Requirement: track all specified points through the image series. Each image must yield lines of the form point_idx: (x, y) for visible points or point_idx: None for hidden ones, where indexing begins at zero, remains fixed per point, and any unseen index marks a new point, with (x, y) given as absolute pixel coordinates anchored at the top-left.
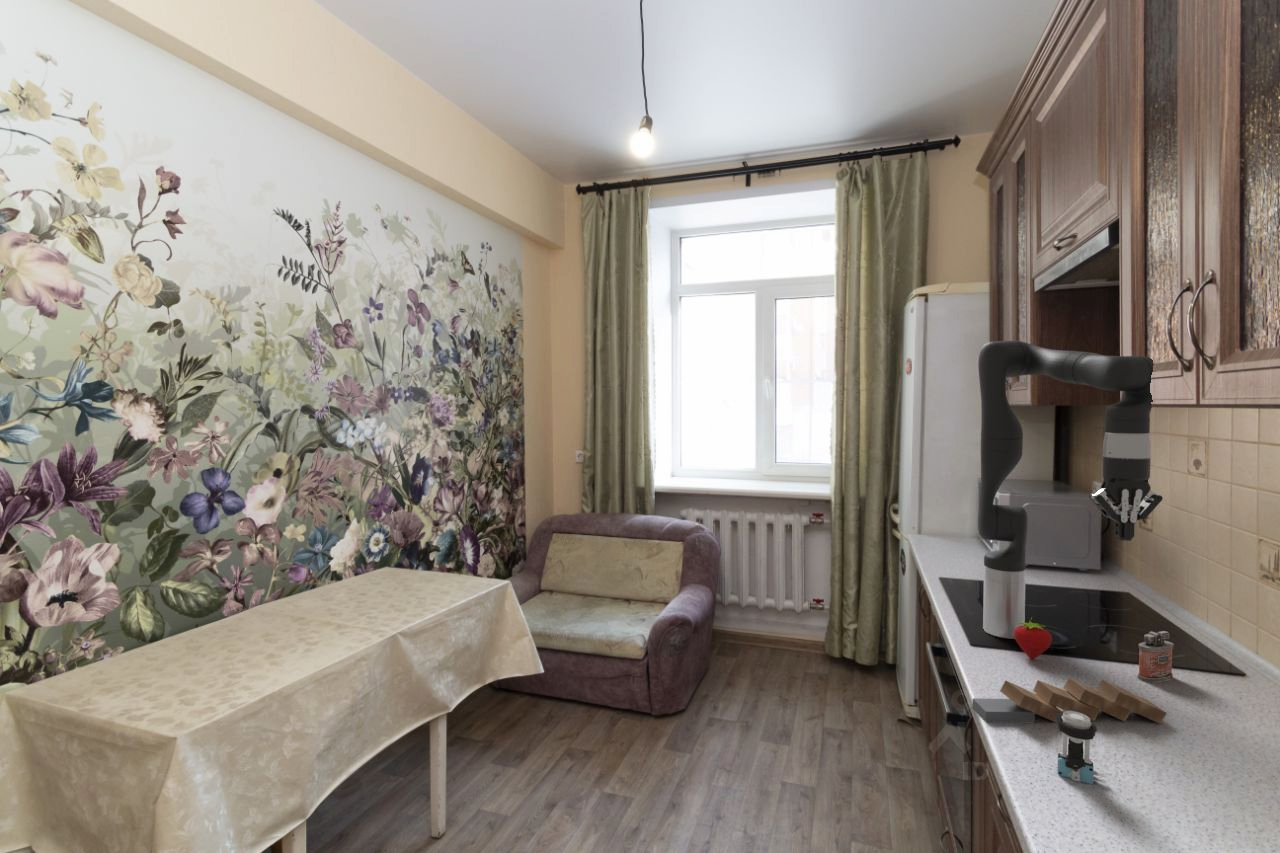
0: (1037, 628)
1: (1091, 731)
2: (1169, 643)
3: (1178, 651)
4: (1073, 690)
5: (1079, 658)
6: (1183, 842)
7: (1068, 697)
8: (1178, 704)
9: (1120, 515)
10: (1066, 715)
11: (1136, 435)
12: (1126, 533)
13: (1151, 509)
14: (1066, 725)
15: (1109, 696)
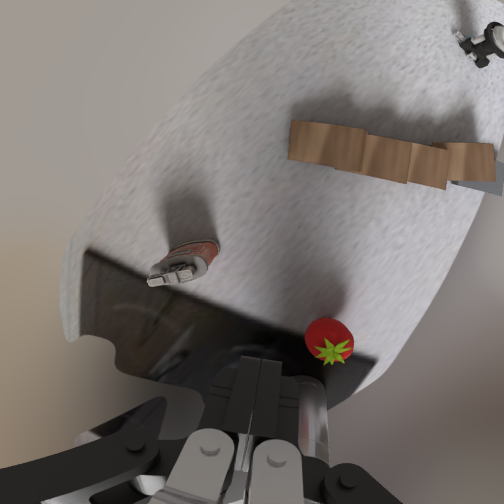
0: (328, 344)
1: (496, 22)
2: (154, 271)
3: (113, 316)
4: (409, 162)
5: (255, 316)
6: None
7: (425, 149)
8: (226, 173)
9: (300, 488)
10: None
11: None
12: (266, 384)
13: (58, 463)
14: None
15: (365, 143)
